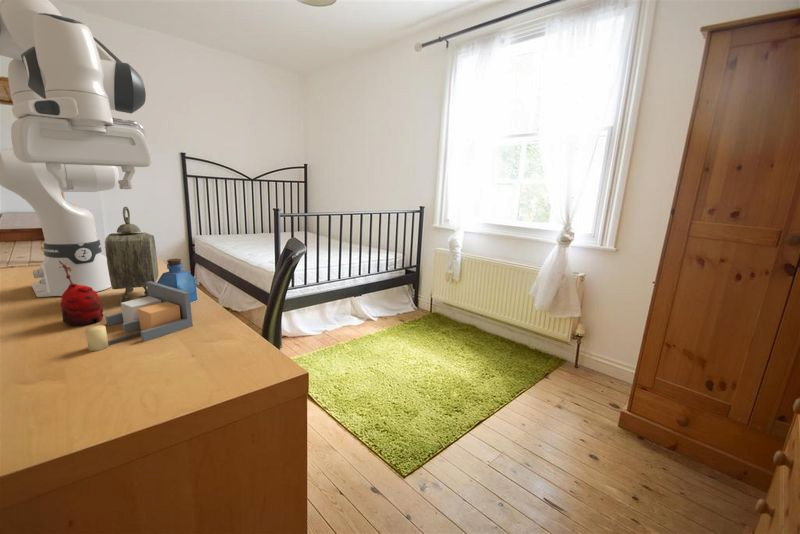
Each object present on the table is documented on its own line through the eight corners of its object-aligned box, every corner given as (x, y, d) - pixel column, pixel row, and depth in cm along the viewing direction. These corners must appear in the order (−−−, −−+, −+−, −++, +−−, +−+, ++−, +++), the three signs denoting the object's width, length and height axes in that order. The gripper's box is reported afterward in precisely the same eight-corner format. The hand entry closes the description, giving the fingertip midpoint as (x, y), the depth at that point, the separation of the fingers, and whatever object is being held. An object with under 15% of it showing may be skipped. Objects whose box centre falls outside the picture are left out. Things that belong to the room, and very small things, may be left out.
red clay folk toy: (112, 318, 83) (102, 256, 79) (78, 330, 76) (66, 262, 73) (88, 314, 85) (78, 253, 81) (53, 325, 78) (40, 259, 75)
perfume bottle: (179, 308, 91) (174, 263, 89) (159, 305, 92) (153, 261, 90) (197, 300, 97) (193, 258, 94) (178, 298, 98) (173, 256, 96)
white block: (123, 323, 81) (120, 302, 80) (152, 315, 86) (149, 296, 85) (134, 328, 78) (131, 307, 77) (163, 319, 83) (161, 300, 82)
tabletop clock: (124, 291, 103) (111, 204, 97) (161, 287, 107) (150, 205, 101) (113, 306, 90) (98, 208, 85) (156, 302, 95) (144, 208, 89)
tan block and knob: (83, 347, 69) (79, 323, 67) (169, 321, 82) (166, 301, 81) (95, 353, 66) (91, 329, 65) (181, 326, 80) (179, 305, 79)
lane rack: (106, 324, 79) (101, 290, 78) (154, 311, 88) (150, 281, 86) (144, 341, 72) (139, 304, 70) (192, 325, 80) (189, 292, 79)
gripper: (135, 124, 76) (147, 189, 79) (-2, 106, 58) (20, 190, 61) (151, 120, 73) (163, 188, 76) (11, 99, 55) (33, 189, 58)
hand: (98, 189), depth 68 cm, fingers open, 8 cm apart
